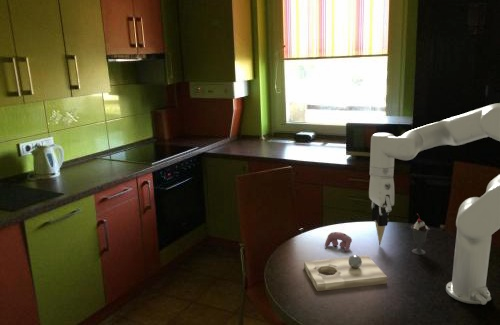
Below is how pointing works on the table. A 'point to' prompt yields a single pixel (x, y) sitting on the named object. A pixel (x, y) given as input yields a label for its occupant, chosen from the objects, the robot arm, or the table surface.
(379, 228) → the ice cream cone
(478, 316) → the table surface
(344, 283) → the hole board
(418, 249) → the sundae
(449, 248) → the table surface
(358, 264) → the steel ball
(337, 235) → the video game controller
